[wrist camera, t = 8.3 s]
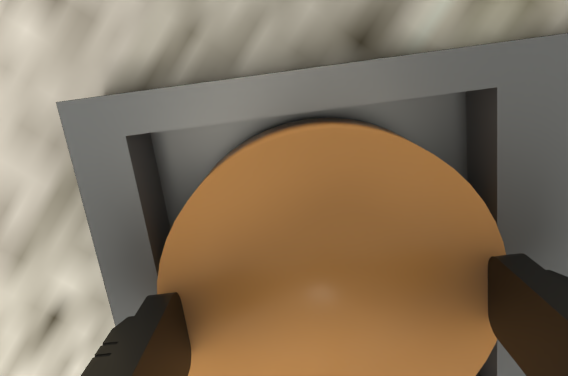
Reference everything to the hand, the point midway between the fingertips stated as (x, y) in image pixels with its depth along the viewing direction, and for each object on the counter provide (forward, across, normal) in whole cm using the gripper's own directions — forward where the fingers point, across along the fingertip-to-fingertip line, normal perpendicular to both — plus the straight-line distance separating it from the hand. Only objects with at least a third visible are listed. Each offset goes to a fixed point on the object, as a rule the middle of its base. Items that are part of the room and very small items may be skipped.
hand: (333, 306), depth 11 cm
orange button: (+3, 0, 0) cm, 3 cm away
